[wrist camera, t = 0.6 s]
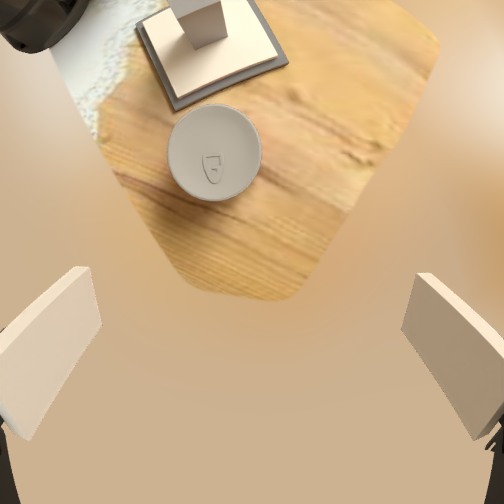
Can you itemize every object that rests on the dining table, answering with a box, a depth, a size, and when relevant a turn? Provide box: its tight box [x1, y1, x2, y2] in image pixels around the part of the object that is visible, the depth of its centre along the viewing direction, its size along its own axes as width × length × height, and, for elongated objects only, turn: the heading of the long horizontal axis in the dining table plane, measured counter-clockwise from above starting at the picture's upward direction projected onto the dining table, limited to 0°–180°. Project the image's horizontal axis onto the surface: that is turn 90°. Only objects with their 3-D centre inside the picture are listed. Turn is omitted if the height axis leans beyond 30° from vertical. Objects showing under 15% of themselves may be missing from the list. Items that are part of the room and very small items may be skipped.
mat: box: [136, 0, 289, 111], centre depth 27 cm, size 14×14×1 cm
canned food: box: [167, 104, 262, 201], centre depth 27 cm, size 8×8×11 cm
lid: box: [142, 0, 278, 99], centre depth 22 cm, size 12×12×10 cm
